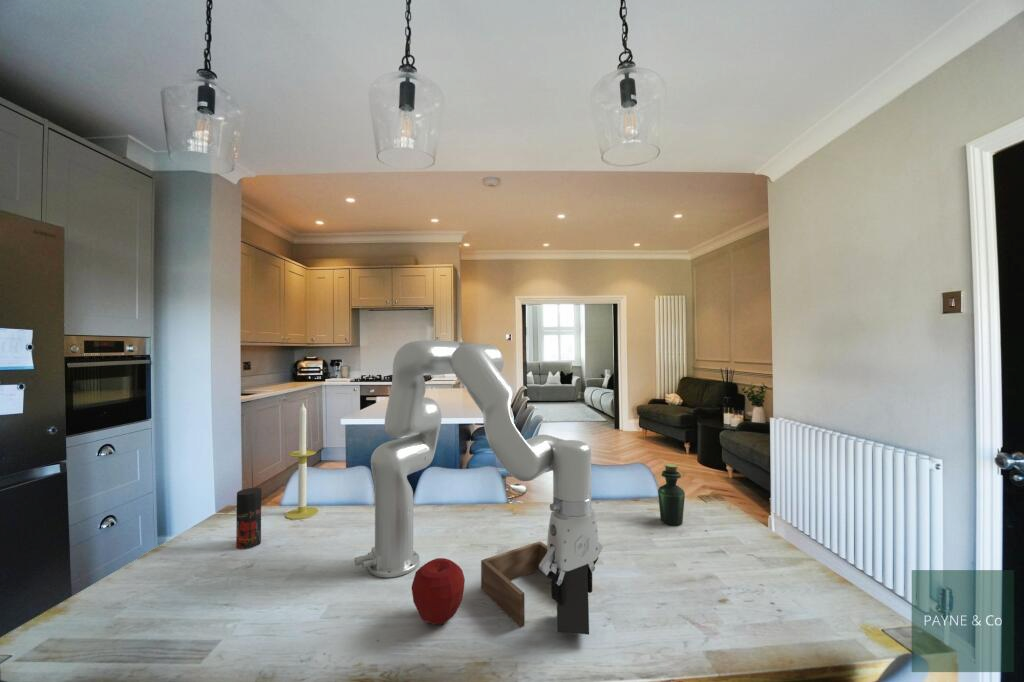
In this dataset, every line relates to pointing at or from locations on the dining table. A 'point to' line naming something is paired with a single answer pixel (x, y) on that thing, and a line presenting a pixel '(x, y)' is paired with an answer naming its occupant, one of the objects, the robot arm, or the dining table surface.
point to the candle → (302, 472)
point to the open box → (511, 577)
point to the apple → (438, 590)
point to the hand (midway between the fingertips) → (572, 594)
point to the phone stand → (574, 603)
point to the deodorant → (248, 518)
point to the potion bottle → (671, 497)
